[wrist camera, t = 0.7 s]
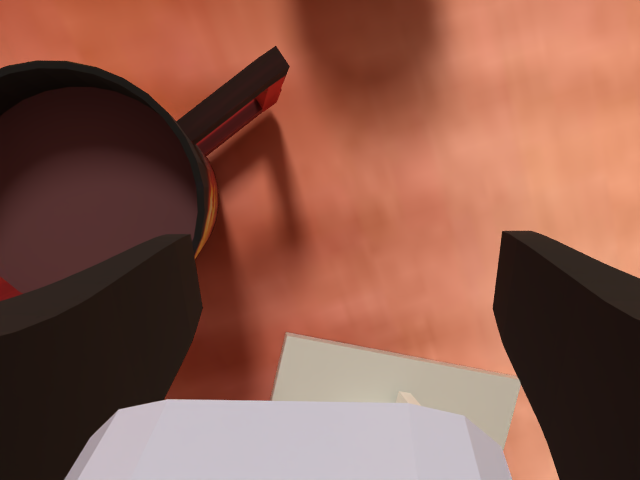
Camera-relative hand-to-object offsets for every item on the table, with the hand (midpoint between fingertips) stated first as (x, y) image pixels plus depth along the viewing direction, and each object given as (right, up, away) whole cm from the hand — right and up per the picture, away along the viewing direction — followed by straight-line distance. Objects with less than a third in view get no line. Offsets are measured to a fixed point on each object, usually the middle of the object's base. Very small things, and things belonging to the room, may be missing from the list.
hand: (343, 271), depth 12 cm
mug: (-10, +5, +18) cm, 21 cm away
